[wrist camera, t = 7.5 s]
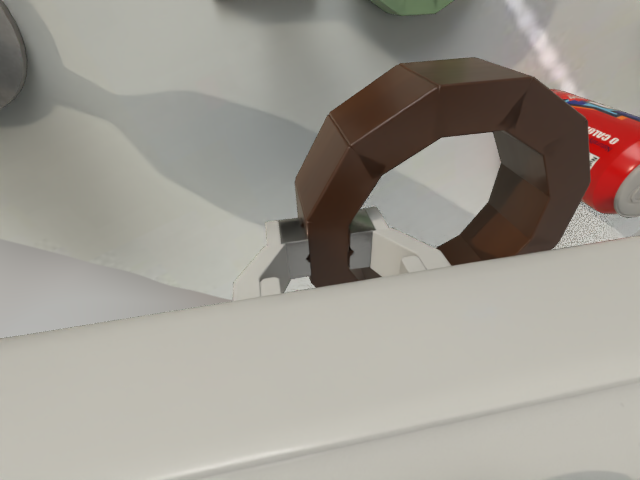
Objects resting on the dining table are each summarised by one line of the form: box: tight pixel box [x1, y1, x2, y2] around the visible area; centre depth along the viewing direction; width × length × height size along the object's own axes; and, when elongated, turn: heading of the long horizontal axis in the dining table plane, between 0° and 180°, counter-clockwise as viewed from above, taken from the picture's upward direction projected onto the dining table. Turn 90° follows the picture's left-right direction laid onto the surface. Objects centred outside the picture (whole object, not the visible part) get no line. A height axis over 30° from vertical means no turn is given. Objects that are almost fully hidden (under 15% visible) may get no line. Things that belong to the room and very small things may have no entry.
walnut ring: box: [295, 57, 591, 288], centre depth 14 cm, size 11×11×3 cm
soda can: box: [550, 89, 640, 218], centre depth 33 cm, size 8×8×15 cm
